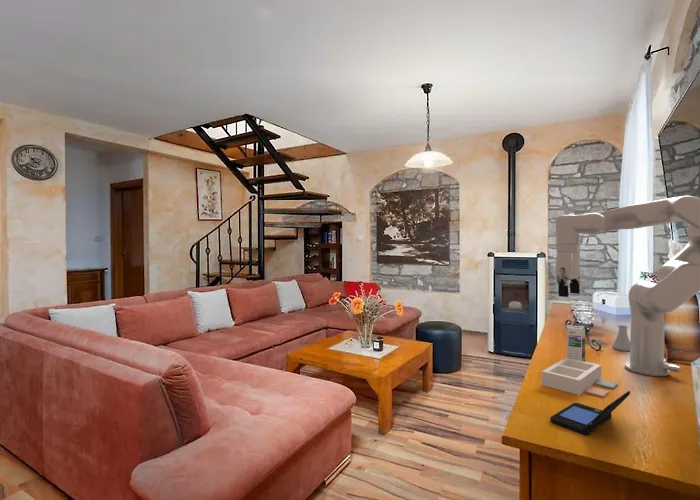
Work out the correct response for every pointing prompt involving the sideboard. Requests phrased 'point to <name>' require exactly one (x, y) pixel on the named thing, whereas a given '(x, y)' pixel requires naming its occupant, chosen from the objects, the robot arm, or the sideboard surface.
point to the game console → (585, 416)
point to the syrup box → (576, 342)
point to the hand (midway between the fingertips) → (569, 294)
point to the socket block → (576, 377)
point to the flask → (622, 339)
